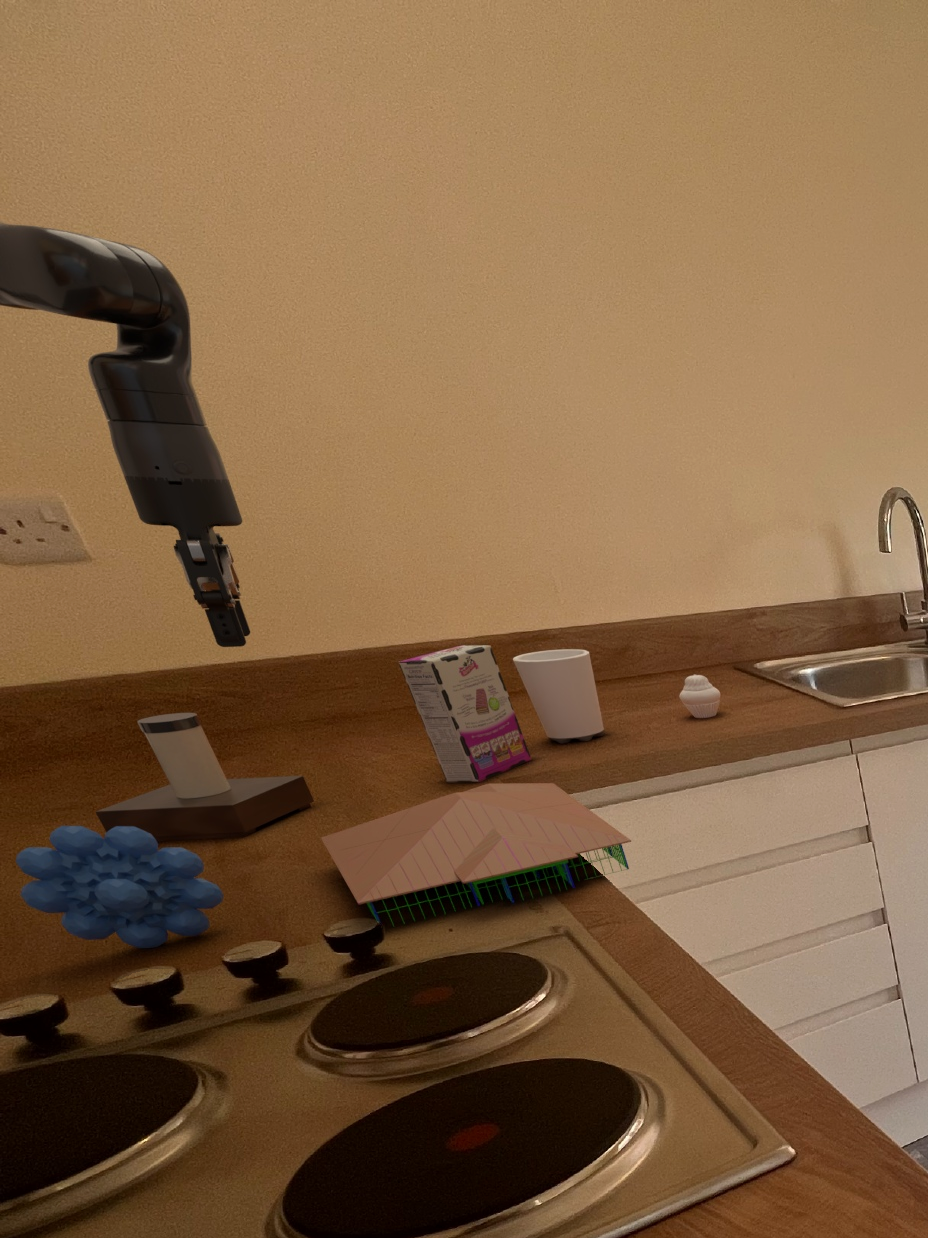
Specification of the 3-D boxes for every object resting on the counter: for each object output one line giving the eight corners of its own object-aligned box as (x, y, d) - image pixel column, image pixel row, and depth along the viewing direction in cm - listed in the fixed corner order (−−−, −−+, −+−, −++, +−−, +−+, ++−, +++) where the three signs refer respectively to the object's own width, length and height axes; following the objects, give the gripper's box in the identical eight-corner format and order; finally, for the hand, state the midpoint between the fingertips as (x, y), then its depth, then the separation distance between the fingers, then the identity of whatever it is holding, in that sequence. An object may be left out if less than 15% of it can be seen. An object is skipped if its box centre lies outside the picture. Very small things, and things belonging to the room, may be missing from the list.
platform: (112, 844, 120) (94, 811, 118) (193, 812, 130) (177, 781, 128) (248, 837, 122) (232, 804, 120) (316, 805, 132) (303, 775, 130)
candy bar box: (499, 760, 150) (458, 644, 143) (533, 760, 150) (493, 644, 143) (442, 783, 140) (395, 659, 133) (478, 783, 140) (433, 659, 133)
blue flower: (60, 983, 88) (-21, 851, 83) (65, 958, 93) (-11, 831, 87) (242, 942, 96) (179, 818, 90) (239, 920, 100) (179, 801, 95)
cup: (596, 727, 168) (572, 646, 162) (625, 736, 163) (601, 653, 157) (528, 740, 161) (500, 656, 155) (556, 749, 156) (528, 663, 150)
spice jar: (163, 800, 122) (124, 723, 118) (196, 787, 126) (160, 713, 122) (211, 797, 122) (174, 721, 118) (242, 785, 127) (208, 711, 123)
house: (377, 944, 95) (340, 861, 91) (327, 856, 116) (296, 785, 112) (648, 875, 109) (626, 801, 106) (561, 808, 130) (540, 744, 127)
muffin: (700, 711, 178) (689, 670, 174) (733, 712, 177) (723, 670, 174) (676, 720, 172) (665, 677, 169) (710, 721, 171) (699, 678, 168)
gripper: (132, 471, 107) (192, 634, 113) (112, 472, 97) (179, 651, 104) (232, 475, 111) (284, 632, 118) (222, 476, 101) (280, 648, 108)
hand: (235, 641), depth 111 cm, fingers open, 8 cm apart
